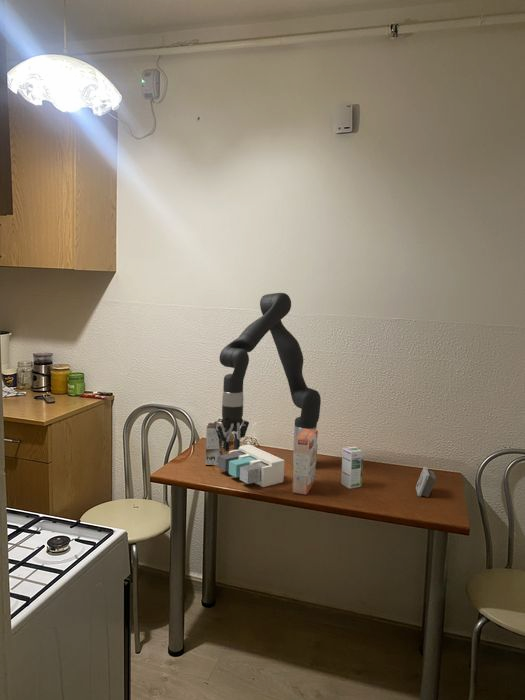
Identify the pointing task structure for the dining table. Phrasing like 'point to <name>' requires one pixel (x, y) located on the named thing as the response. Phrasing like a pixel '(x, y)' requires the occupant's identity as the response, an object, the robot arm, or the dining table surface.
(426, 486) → the electrical switch
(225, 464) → the charcoal plug
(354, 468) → the syrup box
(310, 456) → the cracker box
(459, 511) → the dining table surface
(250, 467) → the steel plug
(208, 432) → the coffee box
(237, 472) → the teal plug
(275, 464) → the socket housing
